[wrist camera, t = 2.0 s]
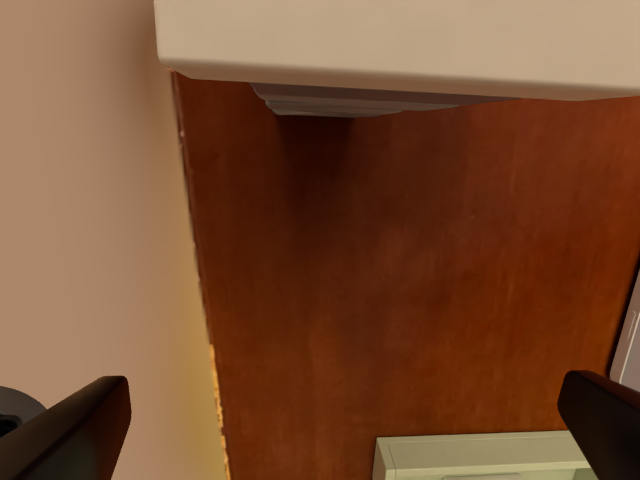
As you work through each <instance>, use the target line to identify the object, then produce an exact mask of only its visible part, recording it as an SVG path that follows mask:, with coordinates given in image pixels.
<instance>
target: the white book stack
mask: <svg viewBox="0 0 640 480" xmlns="http://www.w3.org/2000/svg"><path fill="white" fill-rule="evenodd" d="M444 480H523V478H522V477H521V475H520V474H504V475H483V476H463V477H444Z"/></svg>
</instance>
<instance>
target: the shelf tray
mask: <svg viewBox="0 0 640 480" xmlns="http://www.w3.org/2000/svg"><path fill="white" fill-rule="evenodd" d="M504 474H520V475H521V477H522V478H523V480H598V479H597V477H596V475H595V474H594V472H593V470H592V468H591V467H590V465H589V463H588V462H587V460H586V458H585V457H584V455H583V453H582V451H581V450H580V448H579V446H578V445H577V443H576V441H575V440H574V438H573V436H572V435H571V433H570V431H543V432H516V433H488V434H461V435H434V436H407V437H380V438H377V439H376V448H375V457H374V466H373V475H372V480H444V477H463V476H483V475H504Z"/></svg>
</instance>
